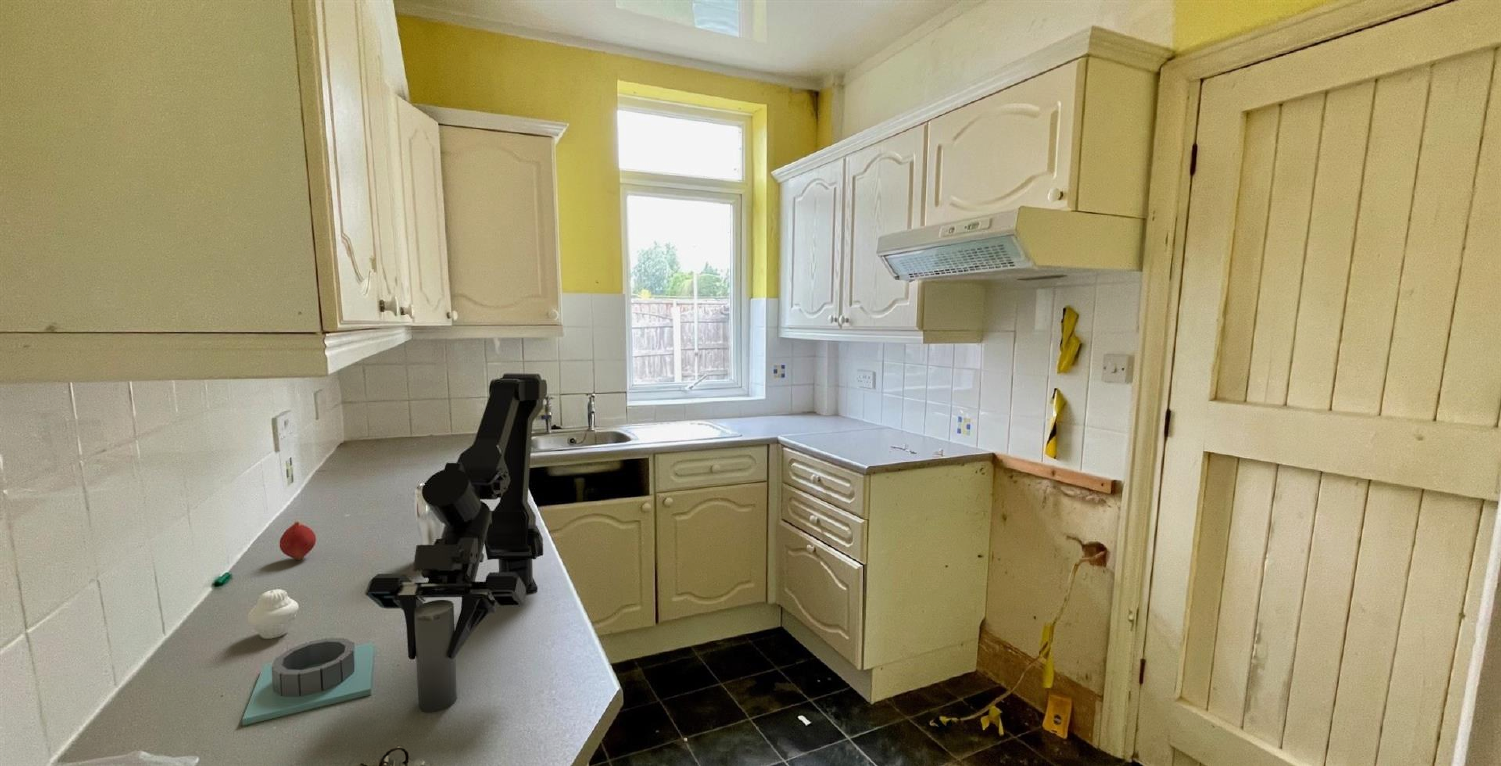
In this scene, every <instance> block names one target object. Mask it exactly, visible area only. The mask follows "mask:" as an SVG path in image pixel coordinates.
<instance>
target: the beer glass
mask: <svg viewBox="0 0 1501 766" xmlns="http://www.w3.org/2000/svg"><path fill="white" fill-rule="evenodd" d="M424 483H425V482H424ZM424 483H420V484H418V485H416V486H415V490H414V491H415V494H414V513H415V514H414V515H415V520H416V525H417V528H418V532H419V538H420V545H434V542H435V541H436V539H441V536H442V532H443V529H444V525H445V524H443V523H442V522H440V521H439V520H438V518H437V517H436V515H435V514H434V513H433V511H432V510H431V509H430V507H429V506H428V504H427V503H426V502H425V500H424V498H423V496H422V487H423V485H424Z"/></svg>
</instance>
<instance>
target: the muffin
mask: <svg viewBox="0 0 1501 766" xmlns="http://www.w3.org/2000/svg"><path fill="white" fill-rule="evenodd" d="M257 599H258V600H257V603H256V604H255V606H254V607H253V608H252V609H251V610H250V611H249V613H248V614H247V621H248V622H249V623H250V626H251V627H252V628H253V630H255V631H256V632H257V634H258V635H259V636H260V638H262V639H269V640H271V639H276V638H279V637H281V636H284V635H286V634H287V633H288V632H289V630H290V628H291V626H292V625H293V622H294V621H295V619H296V617H297V613H298V611H299V608H300V607H299V604H298V602H297V601H296V600H294V599H292V598H291V597H289V596H288V593H287V592H286V591H285V590H283V589H280V588H279V589H271V590H268V591H265V592H264V593H262V594H261V595H260V596H259V597H258V598H257Z"/></svg>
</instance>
